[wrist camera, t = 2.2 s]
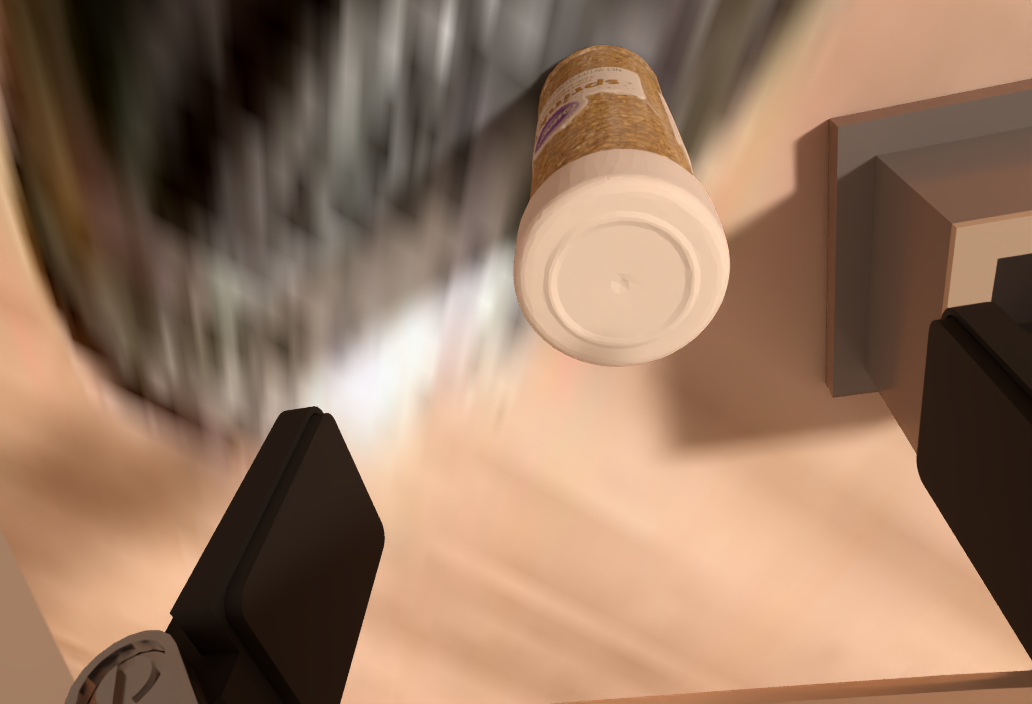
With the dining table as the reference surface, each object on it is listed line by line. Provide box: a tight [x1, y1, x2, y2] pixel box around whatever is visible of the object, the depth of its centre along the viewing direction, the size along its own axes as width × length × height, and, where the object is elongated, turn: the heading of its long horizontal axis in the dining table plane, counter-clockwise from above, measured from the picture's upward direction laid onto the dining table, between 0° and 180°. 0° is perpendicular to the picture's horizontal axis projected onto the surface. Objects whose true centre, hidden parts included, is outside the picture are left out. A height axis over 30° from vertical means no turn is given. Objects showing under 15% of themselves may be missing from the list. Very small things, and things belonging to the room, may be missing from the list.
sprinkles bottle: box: [514, 45, 730, 367], centre depth 20 cm, size 5×5×13 cm
